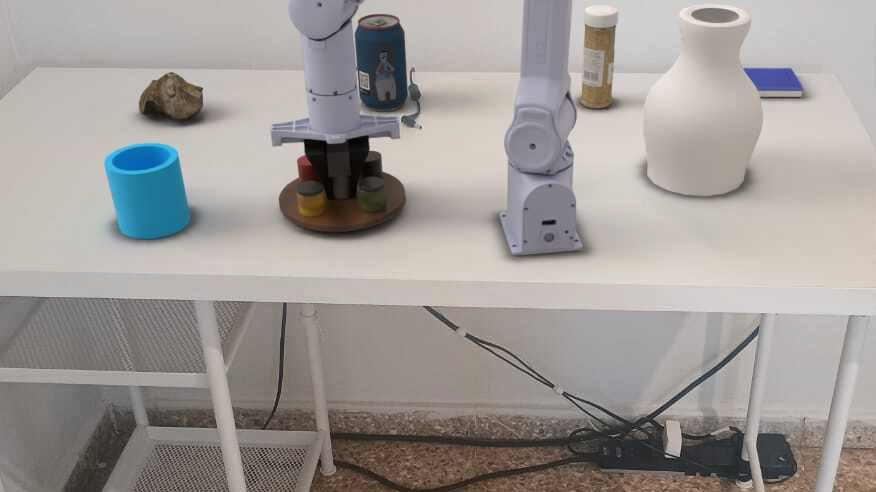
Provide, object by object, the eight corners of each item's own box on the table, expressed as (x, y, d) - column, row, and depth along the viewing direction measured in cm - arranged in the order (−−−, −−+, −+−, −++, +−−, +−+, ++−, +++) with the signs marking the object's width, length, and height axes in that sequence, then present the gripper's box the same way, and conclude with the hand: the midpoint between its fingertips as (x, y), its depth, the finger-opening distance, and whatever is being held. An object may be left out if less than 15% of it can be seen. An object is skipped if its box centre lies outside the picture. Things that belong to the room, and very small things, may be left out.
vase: (625, 190, 126) (639, 27, 114) (650, 143, 137) (665, -11, 125) (744, 208, 122) (772, 40, 110) (760, 158, 133) (786, 0, 121)
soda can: (386, 90, 153) (381, 9, 146) (418, 103, 149) (414, 19, 142) (350, 103, 149) (343, 20, 142) (381, 117, 145) (376, 32, 138)
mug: (185, 237, 119) (172, 172, 114) (113, 241, 118) (97, 176, 113) (199, 189, 128) (187, 127, 124) (132, 192, 128) (118, 130, 123)
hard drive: (715, 87, 148) (803, 87, 148) (707, 66, 155) (790, 66, 154) (714, 98, 149) (801, 98, 149) (705, 76, 156) (789, 76, 155)
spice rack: (401, 168, 130) (398, 111, 125) (410, 226, 118) (407, 165, 113) (280, 176, 129) (273, 119, 124) (277, 236, 117) (269, 174, 112)
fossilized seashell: (220, 96, 146) (179, 91, 152) (189, 63, 141) (148, 59, 147) (190, 138, 144) (150, 131, 150) (158, 106, 139) (118, 100, 145)
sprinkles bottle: (618, 104, 148) (625, 9, 140) (593, 112, 146) (599, 16, 138) (597, 94, 151) (603, 1, 143) (573, 101, 149) (577, 7, 141)
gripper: (264, 104, 111) (279, 216, 119) (399, 96, 112) (405, 207, 120) (266, 79, 117) (280, 188, 125) (395, 72, 118) (400, 180, 126)
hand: (341, 196), depth 123 cm, fingers closed on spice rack, 2 cm apart
